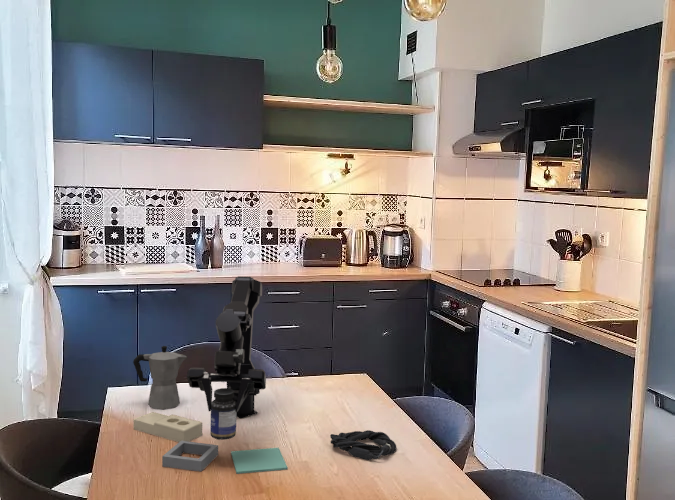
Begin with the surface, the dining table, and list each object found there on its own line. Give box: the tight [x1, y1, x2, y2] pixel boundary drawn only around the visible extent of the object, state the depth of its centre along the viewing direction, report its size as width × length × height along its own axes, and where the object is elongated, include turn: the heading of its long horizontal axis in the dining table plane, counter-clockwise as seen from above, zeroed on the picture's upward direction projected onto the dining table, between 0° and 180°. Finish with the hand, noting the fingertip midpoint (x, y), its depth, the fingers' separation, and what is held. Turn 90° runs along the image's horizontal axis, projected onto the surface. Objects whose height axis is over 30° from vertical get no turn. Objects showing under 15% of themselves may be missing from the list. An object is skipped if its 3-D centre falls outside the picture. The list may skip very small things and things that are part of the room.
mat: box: [230, 447, 289, 475], centre depth 160 cm, size 12×12×1 cm
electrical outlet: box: [133, 411, 203, 443], centre depth 177 cm, size 7×4×18 cm
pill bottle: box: [209, 387, 237, 441], centre depth 158 cm, size 6×6×11 cm
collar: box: [161, 441, 219, 472], centre depth 159 cm, size 10×10×2 cm
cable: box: [329, 429, 397, 461], centre depth 170 cm, size 17×14×4 cm
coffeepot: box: [132, 345, 188, 411], centre depth 197 cm, size 15×9×18 cm, turn 103°
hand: (222, 410), depth 156 cm, fingers closed on pill bottle, 6 cm apart
